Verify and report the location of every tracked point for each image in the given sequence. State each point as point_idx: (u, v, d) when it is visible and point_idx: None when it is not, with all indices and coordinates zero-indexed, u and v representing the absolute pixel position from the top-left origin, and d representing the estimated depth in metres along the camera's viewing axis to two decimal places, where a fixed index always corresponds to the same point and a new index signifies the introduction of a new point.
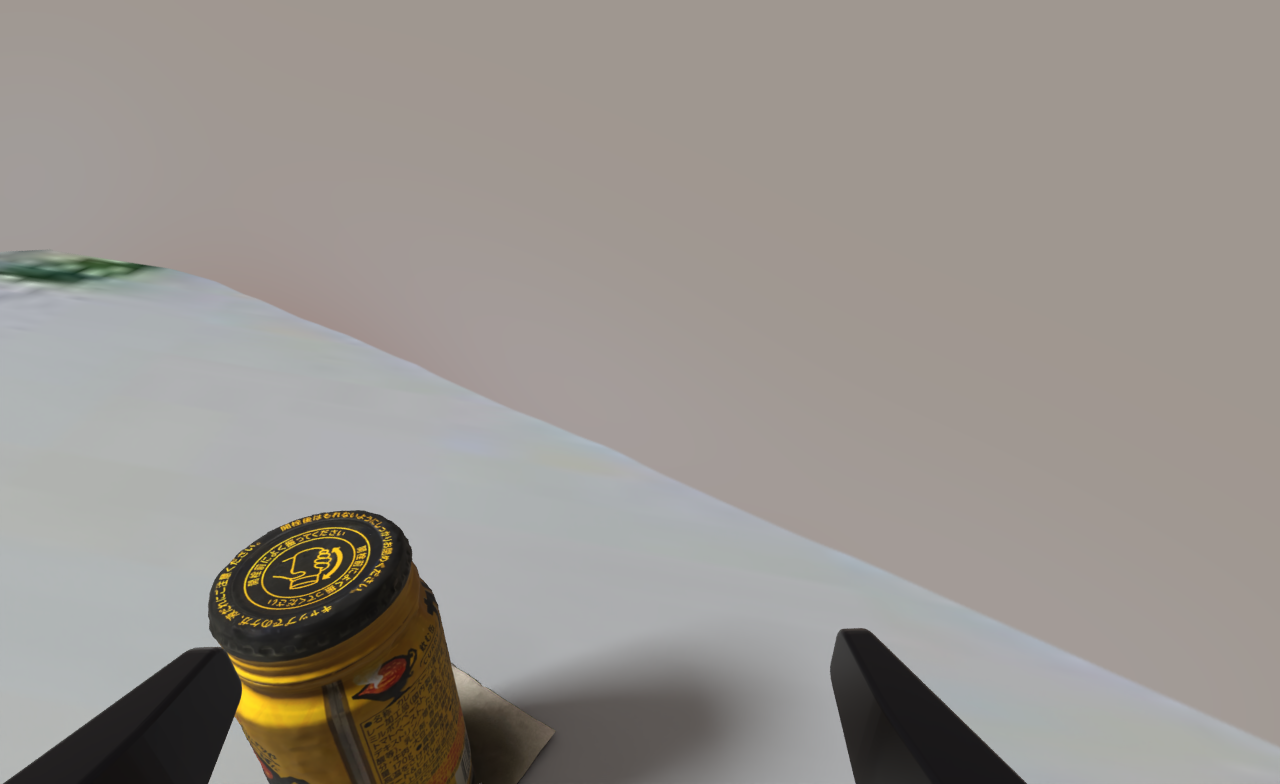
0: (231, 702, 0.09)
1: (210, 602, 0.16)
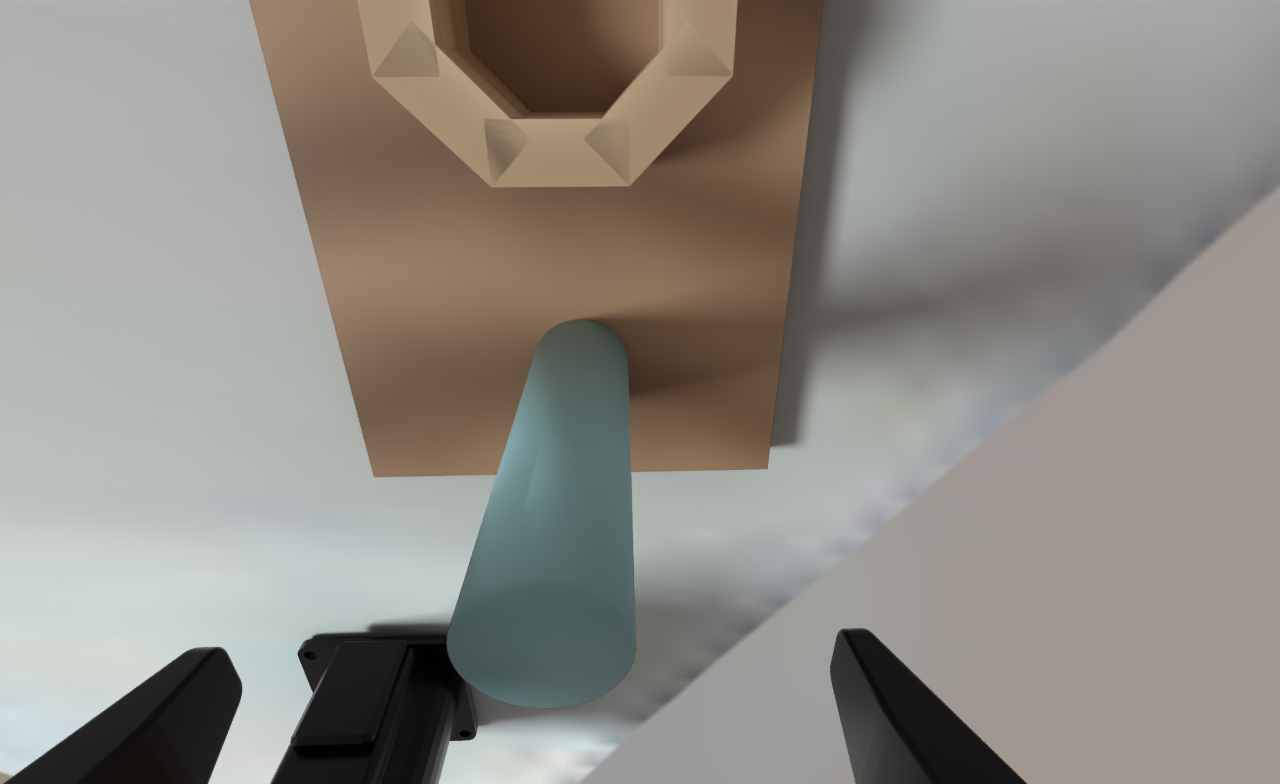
0: (231, 702, 0.09)
1: None
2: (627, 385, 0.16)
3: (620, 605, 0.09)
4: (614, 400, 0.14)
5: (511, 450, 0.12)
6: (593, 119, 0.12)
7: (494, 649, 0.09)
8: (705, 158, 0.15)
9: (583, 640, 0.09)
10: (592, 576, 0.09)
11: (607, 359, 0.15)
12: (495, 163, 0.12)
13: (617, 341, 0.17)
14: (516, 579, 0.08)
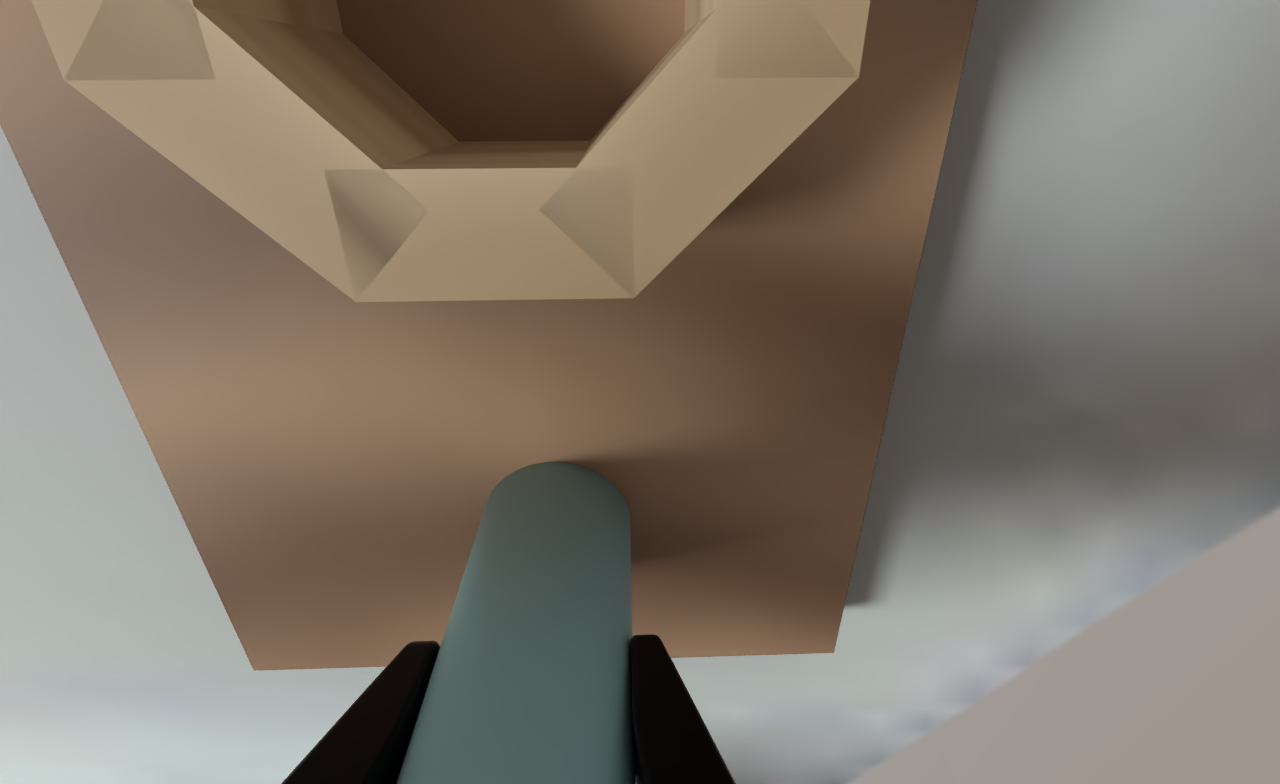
0: None
1: None
2: (629, 591, 0.09)
3: None
4: (605, 671, 0.07)
5: None
6: (558, 169, 0.06)
7: None
8: (761, 218, 0.09)
9: None
10: None
11: (595, 555, 0.09)
12: (359, 257, 0.06)
13: (613, 498, 0.11)
14: None
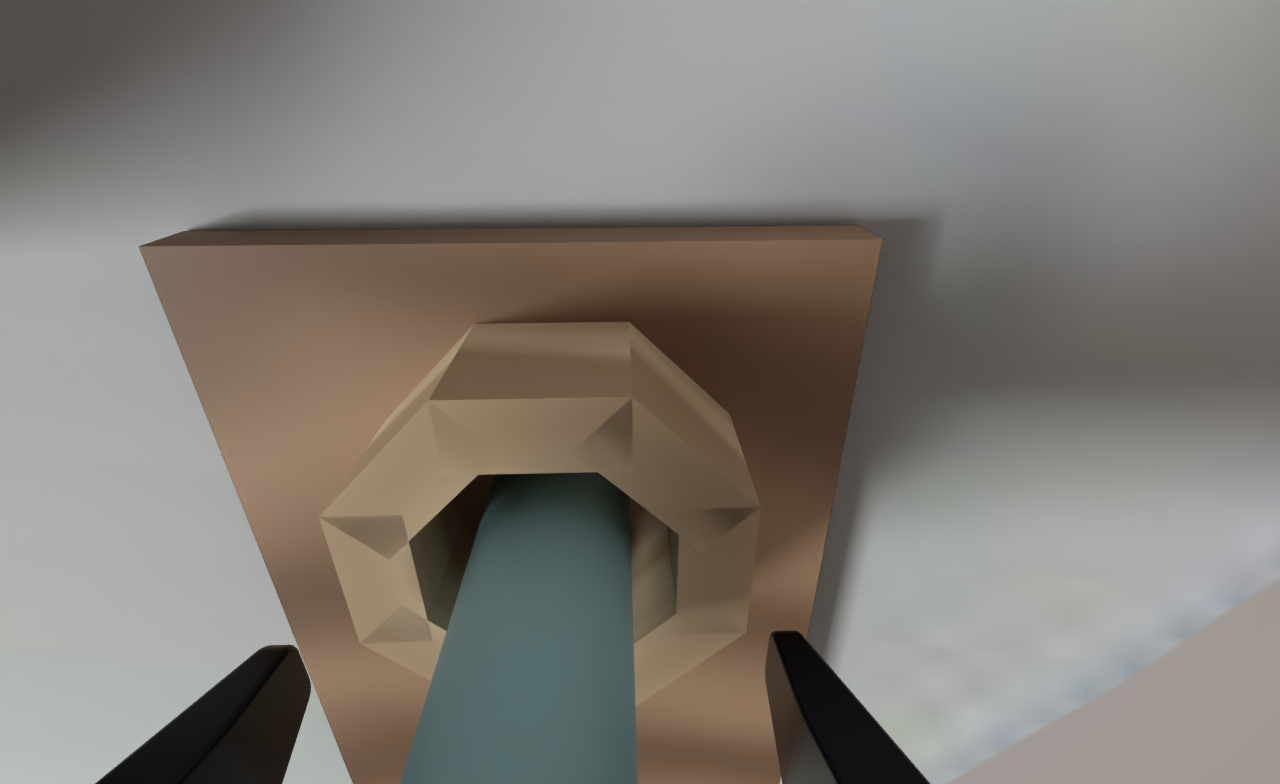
0: (301, 700, 0.09)
1: None
2: (627, 529, 0.11)
3: None
4: (609, 584, 0.09)
5: (430, 723, 0.07)
6: None
7: None
8: None
9: None
10: None
11: (598, 495, 0.10)
12: None
13: None
14: None
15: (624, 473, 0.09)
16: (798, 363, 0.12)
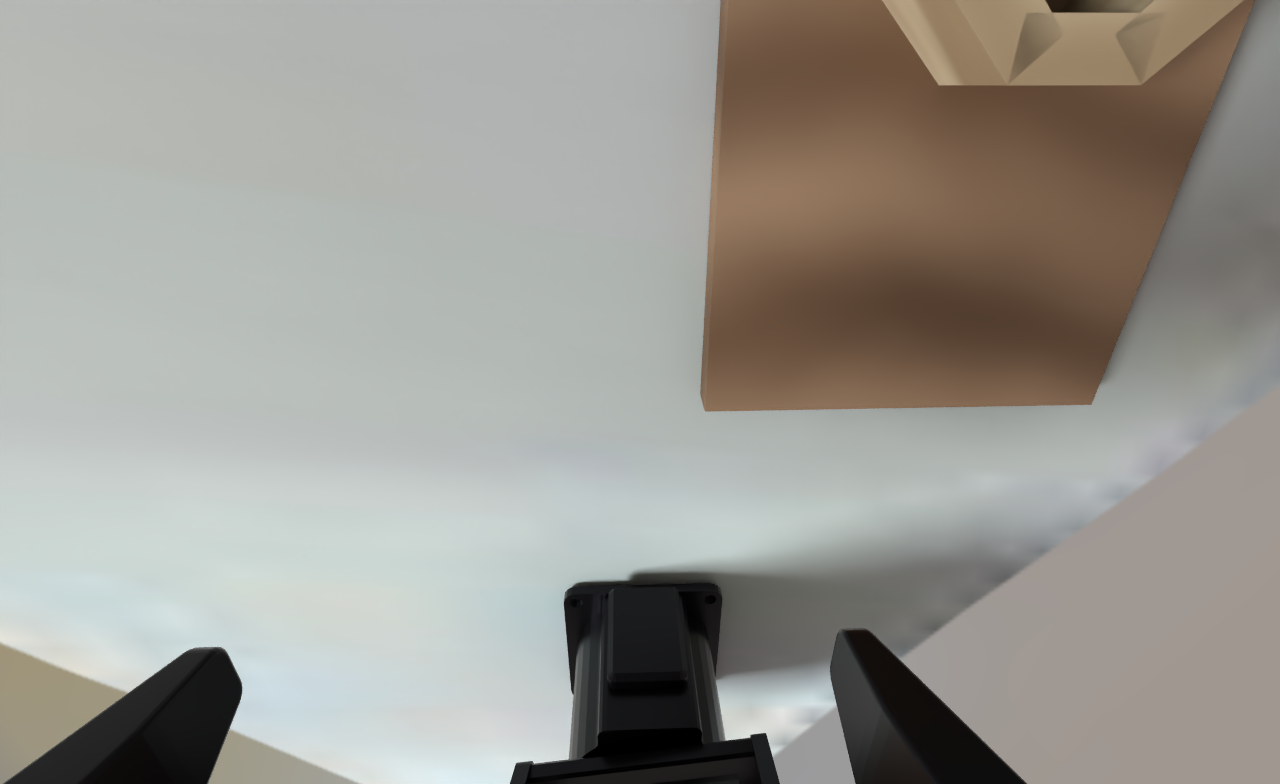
0: (231, 702, 0.09)
1: None
2: None
3: None
4: None
5: None
6: (1130, 13, 0.12)
7: None
8: None
9: None
10: None
11: None
12: (1020, 59, 0.12)
13: None
14: None
15: None
16: None
